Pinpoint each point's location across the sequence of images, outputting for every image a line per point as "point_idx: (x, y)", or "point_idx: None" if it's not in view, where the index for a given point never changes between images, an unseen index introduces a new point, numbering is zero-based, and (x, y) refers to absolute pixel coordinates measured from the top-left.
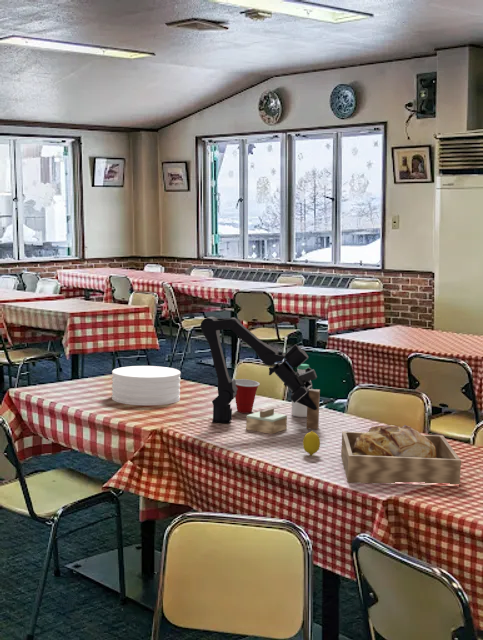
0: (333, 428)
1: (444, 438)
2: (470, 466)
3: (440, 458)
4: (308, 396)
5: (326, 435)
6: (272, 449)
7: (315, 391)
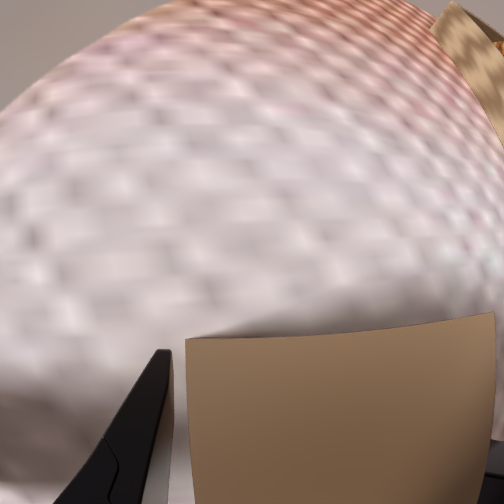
0: (198, 237)
1: (466, 10)
2: (431, 17)
3: None
4: (498, 445)
5: (382, 265)
6: None
7: (493, 394)
